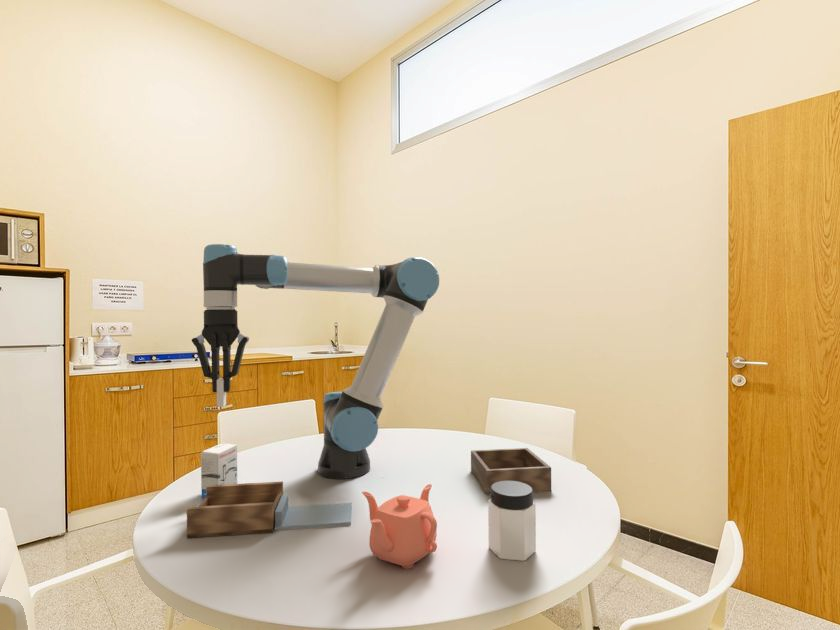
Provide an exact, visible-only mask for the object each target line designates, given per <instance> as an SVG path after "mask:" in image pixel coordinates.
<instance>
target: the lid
mask: <svg viewBox="0 0 840 630" xmlns="http://www.w3.org/2000/svg"><path fill="white" fill-rule="evenodd" d="M289 501H290V500H289V494H283V495H282V497H281V499H280V501H279V504H278V506H277V508H276V511H275V528H274V531H283V530H285V531H286V530H297V529H298V530H299V529H314V528H315V529H316V528H328V527H329V528H330V527H344V526H351V525H352V508H353V507H352V505H353V503H352V502H341V503H340V502H339V503H326V504H324V503H323V504H322V503H321V504H306V505H291V506H290V505H289V503H290V502H289Z"/></svg>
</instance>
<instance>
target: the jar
mask: <svg viewBox="0 0 840 630" xmlns="http://www.w3.org/2000/svg"><path fill="white" fill-rule="evenodd" d="M489 496H490V499H488V507H487V508H488V510H487V511H488V515H487V516H488V525H487V526H488V527H487V528H488V548H489V549H490V550H491V551H492V552H493V553H494V554H495V555H496V556H497V557H498V558H499V559H500V560H510V561H518V562H519V561H520V562H521V561H522V562H524V561H526V560H527V559H529V558H530V557H532V555H533V554H534V553H535V552H536V549H537V546H536V545H537V544H536V543H537V542H536V541H537V540H536V537H537V536H536V535H537V534H536V532H537V529H536V527H537V526H536V525H537V524H536V520H537V519H536V516H537V514H536V512H537V510H536V509H537V508H536V503H535V502H534V492H533V489H532V487H531V486H529V485H527V484H525V483H522V482H518V481H499V482H496V483H494V484H492V485H491V490H490V494H489Z"/></svg>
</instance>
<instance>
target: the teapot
mask: <svg viewBox="0 0 840 630" xmlns="http://www.w3.org/2000/svg"><path fill="white" fill-rule="evenodd" d="M431 488H432V484H427V485H426V486H424V488H423V490H422V491H421V494H420V498H418V497H413V496H409V495H404V494H403V495H402V494H401V495H397V496H395V497H392V498H390V499H388V500H386V501H384V502H383V503H382V504H380V505H379V506H378V503H377V500H376V498H375V497H374V495H373V494H371V492H367V491H361V493H362V495H363V496H364V497H365V498H366V500H367V503H368V512H369V521H370V523H371V527H370V533H369V540H368V541H369V542H368V543H369V548H370V550H371V553H372V555H373V556H375V557H376V558H378V559H379V560H381V561H386V562H389V563H391V564H394V565H398V566H401V567H402V568H403V569H412V568H413V567H414V565H415V563H417V562H418V561H420V560H421V559H423V558H424V557H425V556H427V555H428V554H429V553H434V552H436V551H437V548H438V545H437V542H436V541H437V528H438V521H437V519H436V518H435V515H434V512H433V510H432V506H431V504H430V502H429V497H430V496H429V495H430V491H431Z"/></svg>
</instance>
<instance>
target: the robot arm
mask: <svg viewBox="0 0 840 630" xmlns="http://www.w3.org/2000/svg"><path fill="white" fill-rule="evenodd" d="M202 268H203V270H202V272H203V273H202V275H203V307H204V308H205V309H204V311H203V328H202V330H201V333H200V335H197V336H196V337H193V338H192V339H191V342H192V344H193V345H194V346H195V348H196V351H197V356H198V359H199V362H200V365H201V370H202V374H203V376H204V377H205V378H209V379H211V381H212V382H211V383H212V386H211V387H212V389H211V390H212V393H216V407H217V408H218V407H219V408H223V407H225V406H226V405H227V393H229V392H230V391H231V380H232V379H231V378H233V377H236V376H237V375H238V374H239V372H240V368H241V364H242V360H243V356H244V355H243V354H244V351H245V346H246V345H247V344H248V342H249V341H250V337H249V336H246V335H243V334H241V331H240V329H239V326H238V325H239V324H238V311H237V309H236V308H237V307H238V285H241V286H242V285H246V286H247V285H250V286H255V287H257V288H260V289H265V290H268V289H281V290H282V289H283V290H304V291H319V292H322V291H323V292H337V293H339V292H340V293H355V294H356V293H359V294H370V295H372V296H373V298H382V299H384V302H385V306H384V309H383V310H382V313H381V315H380V317H379V321H378V323H377V325H376V327H375V329H374V332H373V334H372V337H371V339H370V341H369V344H368V346H367V348H366V351H365V353H364V355H363V358H362V360H361V362H360V364H359V367H358V369H357V371H356V373H355V375H354V379H353V381H352V383H351V385H350V386H348V387H347V388H345V389H343V390H342V391H332V392H327V393H325V394H324V396H323V403H322V405H323V446H322V449H321V454H320V457H319V460H318V462H317V473H318V475H320V476H322V477H324V478H328V479H335V480H336V479H337V480H338V479H342V480H343V479H352V478H357V477H360V476H363V475H365V474H368V472H370V469H371V460H370V457H369V453H368V451H367V448H369V446H371V445H372V444H373V443H374V441H375V440H376V438H377V436H378V434H379V433H378V432H379V422H378V420H379V418H380V415H381V413H382V410H383V408H384V405H383V402H382V396H383V394H384V392H385V388H386V386H387V385H388V382H389V379H390V376H391V374H392V372H393V371H394V368H395V366H396V363H397V360H398V358H399V356H400V353H401V351H402V348H403V346H404V344H405V341H406V339H407V336H408V335H409V334H408V333H409V332H410V329H411V327H412V324H413V322H414V320H415V318H416V317H417V316H420V315H421V314H423V312H424V310H425V308H426V305H427V303H428V300H429V299H431V298H432V297H433V296H434V295H435V294H436V293H437V291H438V289H439V286H440V275H439V272H438V269H437V267H436V266H435V265H434V264H433V263H432V262H431V261H429V260H428V259H426V258H423V257H420V256H419V257H418V256H417V257H409V258H406V259H404V260H403V261H401V262H397V263H393V264H386V265H385V264H384V265H379V264H375V265H374V266H373V267H360V266H359V267H358V266H345V265H331V264H329V265H328V264H317V263H303V262H291V261H290V262H288V258H287V257H286V256H284V255H276V254H242V253H238V249H237V247H236V246H235V245H231V244H223V243H222V244H221V243H217V244H216V243H215V244H214V243H212V244H208V245H206V246H205V247H204V248H203V262H202ZM236 339H237V344H238V345H237V347H236V352H235V355H234V360H233V364H231V350H232V345H233V343H234V342H235V341H236ZM205 341H206V342H207V343H208V344H209V346H210V351H211V365H210V362H209V357H208V354H207V351H206V347H205V344H204V343H205ZM221 349H222V375H223V376H222V378H221V375H220V370H221V369H220V367H221V366H220V350H221ZM231 367H232V368H231Z"/></svg>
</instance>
